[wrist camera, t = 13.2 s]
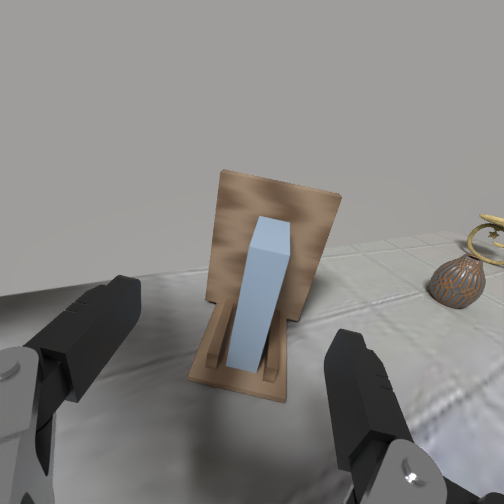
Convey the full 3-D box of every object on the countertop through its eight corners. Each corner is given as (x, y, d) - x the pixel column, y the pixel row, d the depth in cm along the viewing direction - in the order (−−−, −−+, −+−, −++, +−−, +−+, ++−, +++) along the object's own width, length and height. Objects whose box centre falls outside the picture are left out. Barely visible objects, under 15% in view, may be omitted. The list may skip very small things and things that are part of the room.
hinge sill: (171, 376, 23) (179, 199, 15) (208, 296, 33) (223, 169, 26) (301, 407, 22) (376, 242, 15) (296, 316, 33) (339, 193, 25)
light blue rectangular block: (225, 365, 24) (249, 246, 18) (238, 316, 30) (259, 215, 24) (256, 373, 24) (290, 255, 18) (262, 322, 30) (289, 222, 24)
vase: (421, 299, 43) (449, 254, 39) (424, 283, 48) (449, 243, 44) (469, 320, 40) (504, 274, 36) (467, 301, 45) (497, 260, 41)
